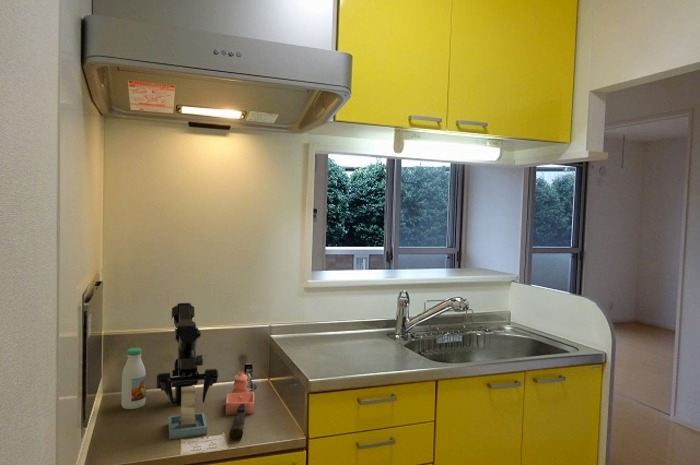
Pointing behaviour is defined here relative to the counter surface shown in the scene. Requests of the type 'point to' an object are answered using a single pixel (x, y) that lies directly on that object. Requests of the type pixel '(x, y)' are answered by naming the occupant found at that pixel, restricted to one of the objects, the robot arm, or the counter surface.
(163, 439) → the counter surface
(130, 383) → the milk bottle
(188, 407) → the beige pillar on base
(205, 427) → the tray
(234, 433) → the hand tool
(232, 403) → the pottery
